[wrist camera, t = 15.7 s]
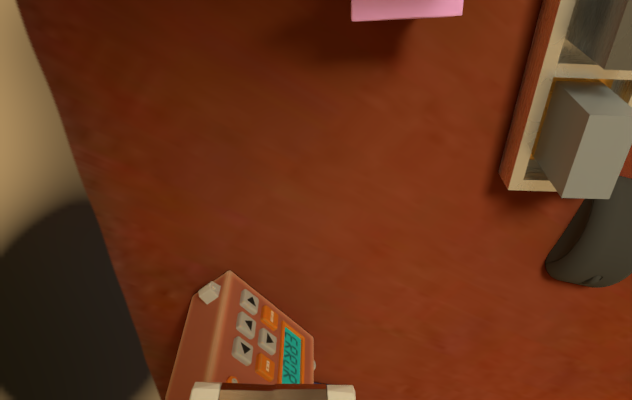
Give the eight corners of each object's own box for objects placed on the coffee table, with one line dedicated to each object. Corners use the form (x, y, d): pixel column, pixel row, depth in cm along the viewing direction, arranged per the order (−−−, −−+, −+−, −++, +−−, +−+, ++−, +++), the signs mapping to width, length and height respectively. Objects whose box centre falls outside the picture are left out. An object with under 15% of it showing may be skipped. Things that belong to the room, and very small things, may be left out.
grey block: (556, 80, 41) (590, 115, 36) (602, 82, 41) (642, 116, 36) (533, 156, 44) (561, 197, 39) (575, 158, 44) (609, 199, 39)
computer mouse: (537, 267, 52) (552, 296, 49) (600, 169, 46) (623, 195, 43) (595, 280, 53) (614, 309, 50) (665, 185, 47) (692, 212, 44)
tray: (568, -97, 35) (615, -85, 29) (691, -91, 35) (761, -78, 29) (497, 172, 46) (523, 217, 40) (591, 175, 46) (628, 220, 41)
